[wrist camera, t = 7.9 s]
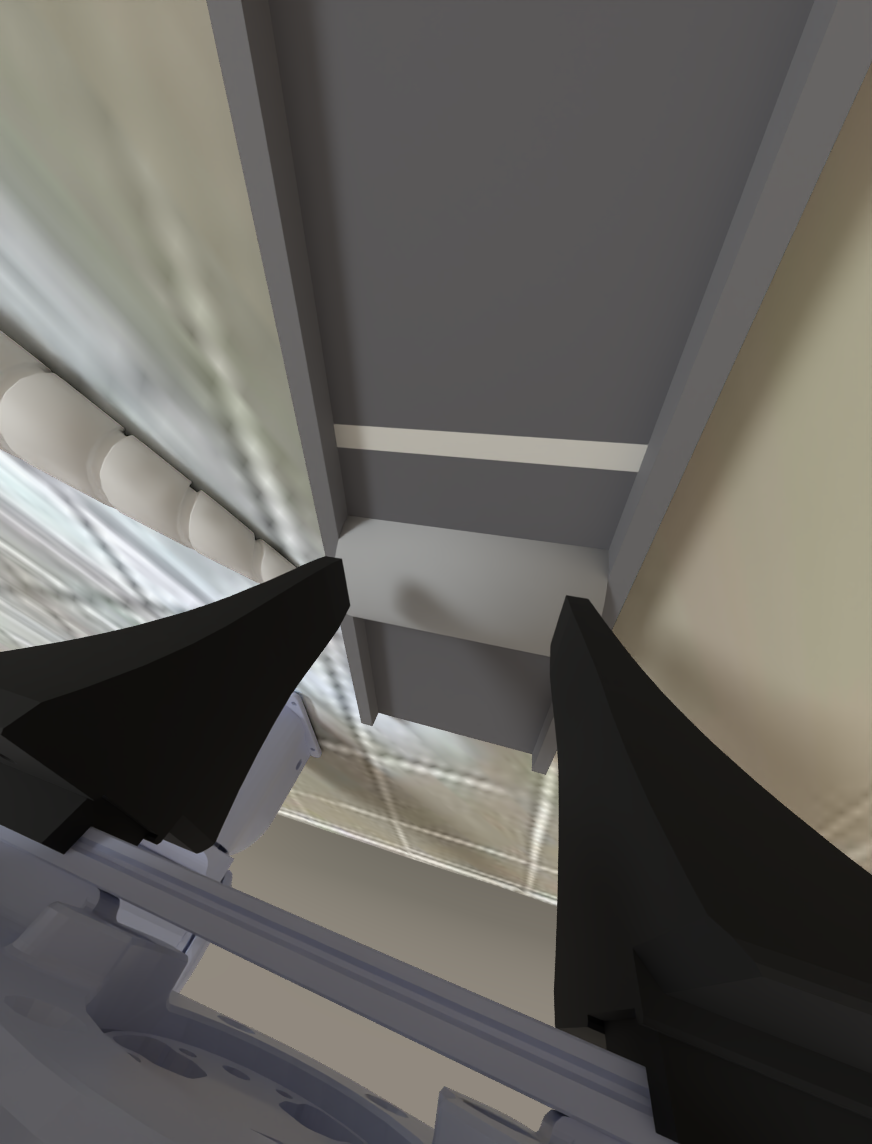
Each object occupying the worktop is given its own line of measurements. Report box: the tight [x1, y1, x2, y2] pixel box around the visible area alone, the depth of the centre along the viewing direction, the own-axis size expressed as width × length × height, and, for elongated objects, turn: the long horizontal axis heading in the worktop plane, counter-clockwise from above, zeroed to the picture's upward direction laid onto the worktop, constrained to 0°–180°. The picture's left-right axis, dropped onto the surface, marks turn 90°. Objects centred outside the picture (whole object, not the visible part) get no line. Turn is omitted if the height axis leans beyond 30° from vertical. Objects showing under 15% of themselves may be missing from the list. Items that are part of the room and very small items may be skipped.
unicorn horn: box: [0, 330, 296, 584], centre depth 14 cm, size 5×24×5 cm, turn 48°
